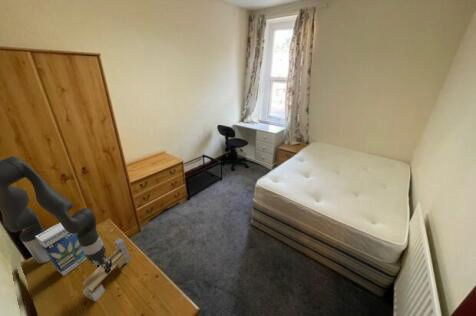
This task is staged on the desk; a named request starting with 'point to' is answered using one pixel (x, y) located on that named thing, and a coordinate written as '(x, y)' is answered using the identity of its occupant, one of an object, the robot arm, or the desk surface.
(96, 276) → the pine rail
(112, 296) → the desk surface
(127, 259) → the bracket stand
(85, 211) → the robot arm
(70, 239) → the string lights box
